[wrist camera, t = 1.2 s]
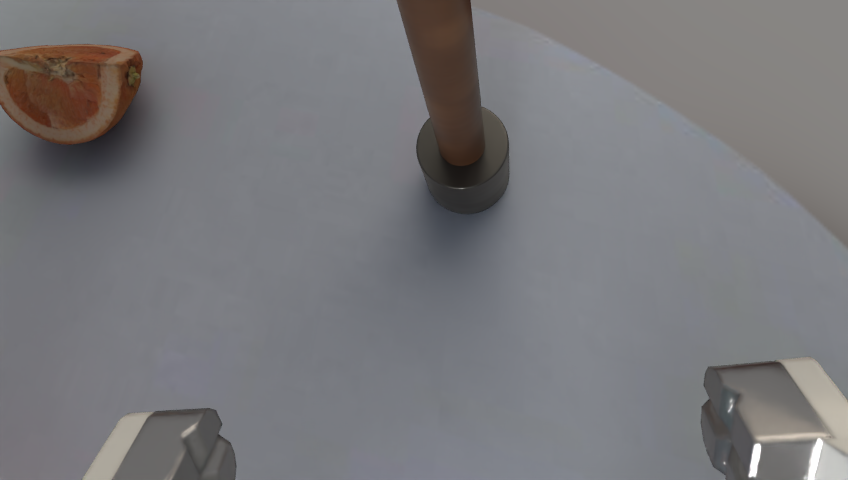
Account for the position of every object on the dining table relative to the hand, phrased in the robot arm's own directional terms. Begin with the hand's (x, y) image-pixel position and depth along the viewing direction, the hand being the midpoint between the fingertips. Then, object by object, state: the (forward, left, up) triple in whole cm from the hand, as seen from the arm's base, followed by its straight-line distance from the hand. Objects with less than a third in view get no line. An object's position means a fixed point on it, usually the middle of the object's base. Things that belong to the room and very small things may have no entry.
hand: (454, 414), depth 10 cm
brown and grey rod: (+1, -12, -20) cm, 24 cm away
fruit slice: (+23, -17, -21) cm, 36 cm away
